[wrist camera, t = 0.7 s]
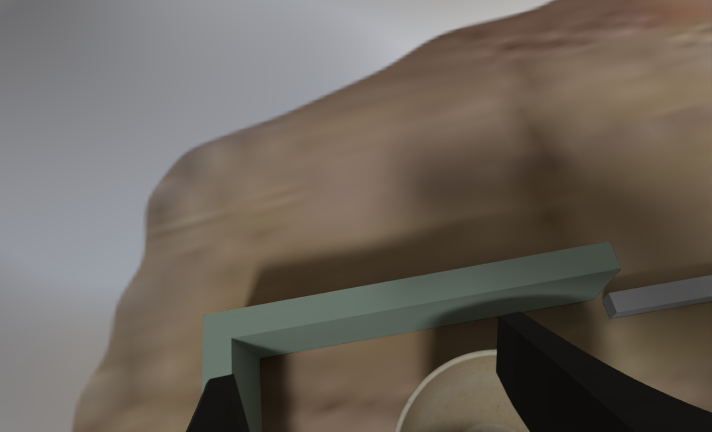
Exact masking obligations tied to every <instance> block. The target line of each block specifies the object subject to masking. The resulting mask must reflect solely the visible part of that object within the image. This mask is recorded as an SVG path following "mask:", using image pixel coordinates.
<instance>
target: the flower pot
mask: <svg viewBox="0 0 712 432" xmlns="http://www.w3.org/2000/svg"><path fill="white" fill-rule="evenodd" d="M496 357H497V349H491V350H482V351H476V352H472V353H468V354H465V355H462V356H459V357H456V358H454V359H452V360H450V361H448V362H446V363H444V364H443V365H441V366H440V367H438V368H437V369H435V370H434V371H433V372H431V373H430V374H429V375H428V376H427V377H426V378H425V379H424V380H423V381H422V382H421V383H420V384H419V385H418V386H417V388H416V389H415V390H414V392H413V393H412V394H411V396H410V398H409V399H408V400H407V402H406V404H405V406H404V408H403V410H402V412H401V414H400V417H399V419H398V422H397V425H396V428H395V431H394V432H529V430H528V428H527V427H526V425H525V424H524V422H523V421H522V419H521V418H520V416H519V415H518V413H517V412H516V410H515V409H514V407H513V405H512V403H511V402H510V400H509V398H508V396H507V394H506V392H505V390H504V388H503V386H502V384H501V382H500V380H499V377H498V375H497V373H496Z"/></svg>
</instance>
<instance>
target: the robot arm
mask: <svg viewBox="0 0 712 432" xmlns="http://www.w3.org/2000/svg"><path fill="white" fill-rule="evenodd" d="M496 373H497V375H498V377H499V380H500V382H501V384H502V386H503V388H504V390H505V392H506V394H507V396H508V398H509V400H510V402H511V403H512V405H513V407H514V409H515V410H516V412H517V413H518V415H519V416H520V418H521V419H522V421H523V422H524V424H525V425H526V427H527V428H528V430H529V432H712V413H711V412H709V411H706V410H703V409H701V408H698V407H696V406H693V405H691V404H688V403H686V402H683V401H681V400H679V399H676V398H674V397H672V396H669V395H667V394H665V393H663V392H661V391H659V390H656V389H654V388H652V387H650V386H648V385H645V384H643V383H641V382H639V381H637V380H635V379H633V378H631V377H629V376H627V375H626V374H624V373H622V372H620V371H618V370H616V369H614V368H612V367H611V366H609V365H607V364H605V363H603V362H601V361H600V360H598V359H596V358H594V357H593V356H591V355H589V354H588V353H586V352H584V351H582V350H581V349H579V348H577V347H576V346H574V345H572V344H571V343H569V342H568V341H566V340H564V339H563V338H561V337H559V336H558V335H556V334H555V333H553V332H551V331H550V330H548V329H547V328H545V327H544V326H542V325H540V324H539V323H537V322H536V321H534V320H532V319H531V318H529V317H527V316H526V315H524V314H522V313H521V312H519V311H518V312H514V313H509V314H505V315H500V316H498V334H497V357H496ZM186 432H250V430H249V426H248V423H247V419H246V415H245V412H244V408H243V405H242V401H241V397H240V394H239V390H238V386H237V383H236V379H235V376H234V374H230V375H225V376H221V377H216V378H211V379H209V380H208V382H207V383H206V385H205V388H204V390H203V393H202V396H201V398H200V401H199V403H198V405H197V408H196V410H195V413H194V415H193V417H192V419H191V422H190V424H189V426H188V428H187V430H186Z"/></svg>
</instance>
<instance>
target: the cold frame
mask: <svg viewBox="0 0 712 432" xmlns="http://www.w3.org/2000/svg"><path fill="white" fill-rule="evenodd" d="M620 270H621V266H620V264H619V261H618V259H617V257H616V255H615V252H614V250H613V248H612V246H611V243H610V241H607V242H602V243H596V244H591V245H585V246H580V247H574V248H569V249H563V250H558V251H552V252H547V253H541V254H536V255H530V256H525V257H519V258H514V259H508V260H503V261H497V262H492V263H486V264H481V265H475V266H470V267H464V268H459V269H453V270H448V271H442V272H437V273H431V274H426V275H420V276H415V277H409V278H404V279H398V280H393V281H387V282H382V283H376V284H371V285H365V286H360V287H354V288H349V289H343V290H338V291H332V292H327V293H321V294H316V295H310V296H305V297H299V298H294V299H288V300H283V301H277V302H272V303H266V304H261V305H255V306H250V307H244V308H239V309H233V310H228V311H222V312H217V313H211V314H206V315H203V361H202V393H203V390H204V388H205V385H206V383H207V382H208V380H209V379H211V378H216V377H221V376H225V375H230V374H234V376H235V379H236V383H237V386H238V390H239V394H240V397H241V401H242V405H243V408H244V412H245V415H246V419H247V423H248V426H249V430H250V432H263V431H262V406H261V381H260V358H264V357H270V356H276V355H281V354H287V353H293V352H298V351H304V350H310V349H315V348H321V347H327V346H332V345H338V344H344V343H350V342H355V341H361V340H367V339H372V338H378V337H384V336H389V335H395V334H401V333H406V332H412V331H418V330H423V329H429V328H435V327H440V326H446V325H452V324H457V323H463V322H469V321H475V320H480V319H486V318H492V317H497V316H500V315H505V314H509V313H514V312H518V311H519V312H526V311H531V310H537V309H543V308H548V307H554V306H560V305H565V304H571V303H577V302H582V301H588V300H594V299H595V297H596V296H597V295H598V294H599V293H600V292H601V291H602V290H603V288H604V287H605V286H606V285H607V284H608V283H609V282H610V281H611V280H612V278H613V277H614V276H615V275H616V274H617V273H618V272H619V271H620Z"/></svg>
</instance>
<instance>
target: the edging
mask: <svg viewBox="0 0 712 432" xmlns="http://www.w3.org/2000/svg"><path fill="white" fill-rule="evenodd" d="M709 301H712V275H708V276H702V277H697V278H691V279H685V280H680V281H674V282H668V283H663V284H657V285H651V286H646V287H640V288H634V289H629V290H623V291H617V292H612V293H608V294H607V295H606V296H605V297H604V299H603V302H604V305H605V307H606V309H607V312H608V314H609V317H610V319H611V318H617V317H623V316H628V315H634V314H640V313H646V312H651V311H657V310H663V309H669V308H674V307H680V306H686V305H692V304H697V303H703V302H709Z"/></svg>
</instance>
